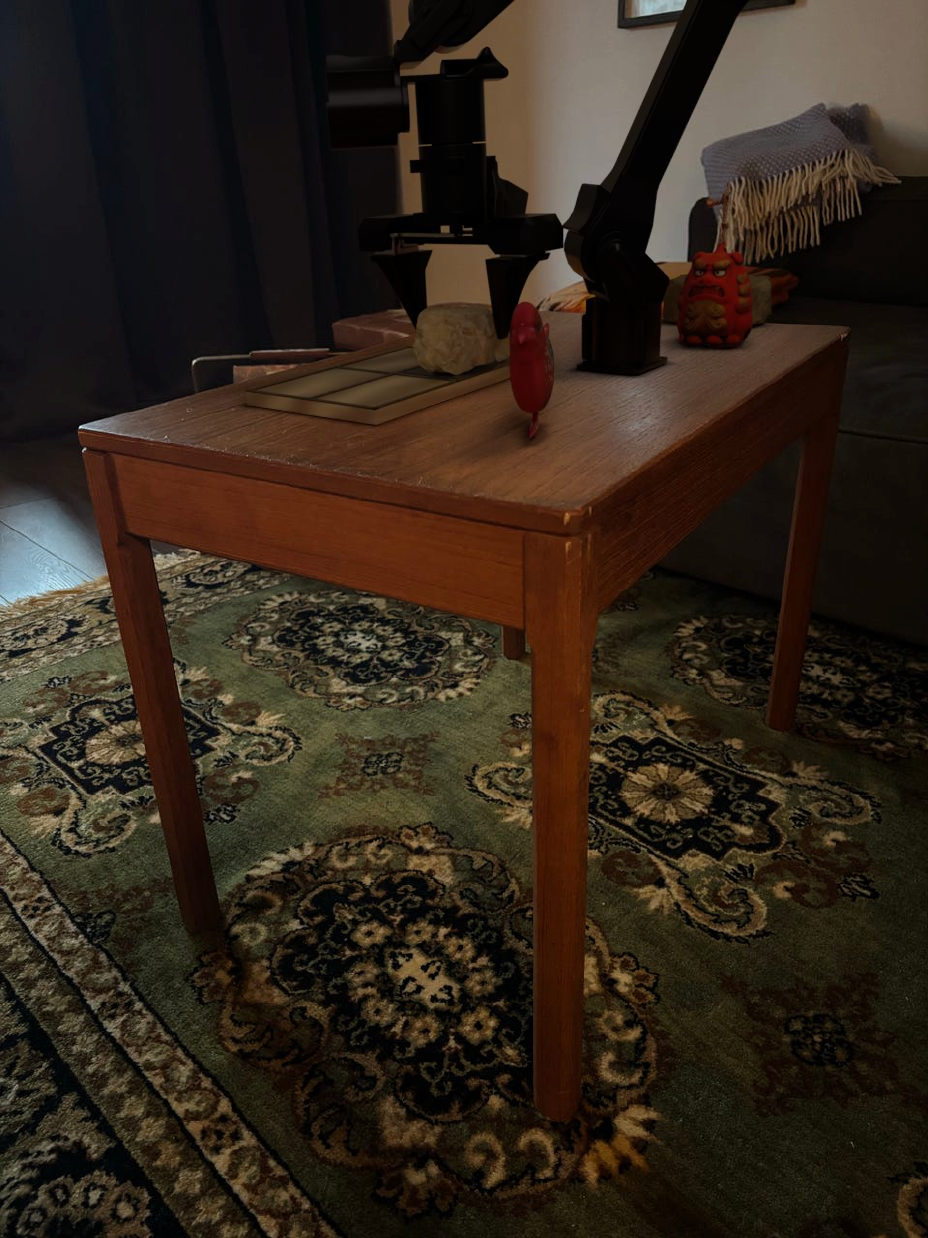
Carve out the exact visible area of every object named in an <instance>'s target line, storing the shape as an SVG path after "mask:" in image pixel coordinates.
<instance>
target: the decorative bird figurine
mask: <svg viewBox="0 0 928 1238" xmlns="http://www.w3.org/2000/svg"><path fill="white" fill-rule="evenodd" d="M509 346H510V359H509V364H510V378H509V379H510V385H511V391H512V394H513V398H514V400H515V402H516V404H517V406H518V408H519V409H520V410H521V411H523V412H524V413H527V414H532V415H531V419H530V422H529V429H528V435H529V436H528V439H529V440H531V439H532V438H534V437H536V436H537V434H538V431H539V427H540V421H539V413H541V412H543V410H544V409H545V408H546V407H547V406H548V404H549V402H550V400H551V396H552V393H553V388H554V383H555V355H554V354H555V353H554V349H553V345H552V342H551V339H550V324H549V322H546V323H545V324H544V323H543V320H542V317H541V313H540V312H539V310H538V309H537V307H536V305H534V304H533V303H532V302H529V301H521V302H519V303H518V305H517V306H516V308H515V309H514V312H513V315H512V319H511V325H510V335H509Z"/></svg>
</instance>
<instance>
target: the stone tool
mask: <svg viewBox="0 0 928 1238" xmlns="http://www.w3.org/2000/svg"><path fill="white" fill-rule="evenodd" d="M416 328H417V329H416V330H415V335H414V336H415V339H414V341H413V344H412V346H413V355H414V356H415V357H416V360H415V362H416V363H417V364H419V365H420V366H421V367H423V368H424V369H425V370H427V371H428V372H444V373H451V374H455V375H459V374H461V373H463V372H467V371H469V370H471V369H472V368H473V367H475V366H478V365H483V364H487V363H490V362H493V361H494V360H497V361H498V362H500V361H502V360H506V359H508V358H509V357H510V346H509V335H510V331H509V335H508V337H507V338H506V339H503V340H499V339H498V338H497V334H496V330H495V326H494V321H493V314H492V309H491V308H489V307H488V306H487V305H484V304H481V303H474V304H471V305H464V306H458V307H457V306H450V305H449V306H444V305H442V304H439V305H433V306H427V308H426V309H424V310H423V311H422V312H421V313H420V314H419V316H418V320H417V325H416Z"/></svg>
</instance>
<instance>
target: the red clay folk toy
mask: <svg viewBox="0 0 928 1238" xmlns="http://www.w3.org/2000/svg"><path fill="white" fill-rule="evenodd" d="M730 189H731V182H726V191H724V192H723V193H722V197H721V199H713V198H712V197H708V198H707V199H705V202H706V206H705V208H706V209H707V210H708V209H709V210H710V209H711V208H713V207H715V206H720V205H721V206H722V221H721V223H720V226H721V233H720V238H719V240H718V244H717V248H716V249H715V250H714V251H713V252H711V253H708V252H704V251H699V252H697V253H695V254H694V256H693V257H692V261H691V266H690V269H689V271H688V272H687V273H686V274H687V276H686V278H685V281H684V284H683V286H682V288H681V289H680V294H679V299H678V310H679V315H678V320H677V323H676V328H677V329H676V330H677V332H678V340H679V342H680V343H681V344H682V345H683V344H686V345H695V346H697V345H704V346H709V347H711V348H731V347H738V346H739V347H740V344H741V343H743V342H745V341H746V340H747V338H748V337H749V335H750V334H751V332H752V330H753V325H754V324H753V314H752V303H753V296H752V289H751V284H750V280H749V277H748V275H749V274H748V272H747V270H746V267H745V265H744V263H743V261H744V258H743V253H741V252H739V251H733V252H728V250H727V236H726V235H727V234H726V232H727V230H728V229H729V228H730V226H729V225H730V224H729V222H728V220H727V217H728V213H729V204H730V195H731V193H732V191H731V190H730Z"/></svg>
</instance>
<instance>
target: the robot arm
mask: <svg viewBox="0 0 928 1238" xmlns="http://www.w3.org/2000/svg"><path fill="white" fill-rule="evenodd" d="M515 1H516V0H409V2H408V5H407V16H408V19H407V20H408V24H409V26H408V28H407V29H406V31H405V33H404V34H403V35H402V37H401V39H396V40H395V42H394V44H393V46H392V48H393V54H391V55H390V54H389V55H367V56H366V55H364V56H348V55H346V54H345V55H344V54H326V56H325V57H324V68H325V80H326V91H327V99H326V100H325V106H326V116H327V117H326V118H327V126H328V127H327V128H328V137H329V138H328V139H329V147H330V151H341V150H342V151H343V150H344V151H345V150H360V149H361V150H362V149H379V148H380V149H381V148H398V142H399V135H400V134H402V133H403V134H409V133H411V132H410V131H411V110H410V96H409V86H414V94H415V95H414V96H415V112H416V128H417V145H418V146H417V147H418V149H417V150H418V159H409V174H419V178H420V179H419V180H420V197H421V198H420V199H421V211H419V212H412V213H394V214H393V213H392V214H386V215H385V214H383V215H377V216H370V217H363V218H362V220H361V222H360V224H359V226H358V228H357V231H356V232H357V234H356V235H357V245H358V251H359V252H366V253H367V252H369V253H370V252H371V253H372V252H374V254H372V255H369V261H370V262H371V263H376V265H377V266H378V267H379V269H380V270H381V273H383V275H384V276H385V278H386V280H387V281H388V283H389V284H390V286H391V287H392V289H393V291H394V292H395V295H396V296H397V298H398V300H399V302H400V303H401V306H402V308H403V309H404V311H405V313H406V315H407V317H408V318H409V320H410V322H411V324H412V326H413V328H414V330H415V331H416V329H417V328H416V325H417V320H418V316H419V314H420V313H421V312H422V311H423V310H424V309H426V308H428V294H427V293H428V292H427V274H426V271H427V267H428V264H429V262H430V259H431V257H432V254H433V251H434V250H433V249H420V247H419V246H424V245H459V246H460V245H467V246H487V247H488V248H489V249H490V251H492V253H493V254H494V255H495V256H496V255H498V256H496V257H495V256H494V257H490V258H485V259H484V262H485V269H486V270H485V271H486V276H487V277H486V278H487V283H488V291H489V299H490V306H491V313H492V314H493V321H494V326H495V330H496V334H497V338H498V339H499V340H503V339H506V338H507V337H508V335H509V331H510V325H511V319H512V315H513V312H514V309H515V308H516V306H517V305H518V304H519V303H520V299H521V296H522V293H523V291H524V288H525V285H526V283H527V281H528V278H529V277H530V274H531V273H532V271H534V269H535V268H536V266H538V264H539V263H540V262H543V261H547V260H549V259H550V256H551V251H556V250H560V249H563V252H564V256H565V259H566V262H567V264H568V266H569V267H570V268H571V270H572V271H573V272H574V273H575V274H577V275H578V276H580V277H581V278H582V280H583V283H584V286H585V288H586V292H587V294H589V295H593V296H591V297H587V298H585V313H583V314H582V315H581V325H580V326H581V331H580V332H581V334H580V335H581V337H580V340H581V342H580V343H581V345H580V348H581V350H580V351H581V352H580V356H581V357H580V358H581V359H582V360H583V361H579V362H577V363H576V365H575V366H576V369H577V370H584V371H593V372H603V373H615V374H625V375H639V374H642V373H645V372H647V371H650V370H652V369H654V368H656V367H659V366H661V365H664V364H667V363H668V360H669V359H668V356H663V355H661V338H662V337H661V336H662V315H663V302H664V296H665V293H666V290H667V287H668V285H669V282H670V277H669V276H668V275H667V273H666V272H665V271H664V270H663V269H662V268H661V267H659V265H658V264H657V263H656V262H655V261H654V260H653V259H652V257H650V256H649V255H648V253H646V252H647V249H648V245H649V242H650V239H651V235H652V232H653V228H654V223H655V215H656V208H657V207H656V206H657V200H658V194H659V193H658V192H659V188H660V185H661V184H662V183H661V182H662V180H663V179H664V176H665V174H666V172H667V170H668V168H669V165H670V163H671V162H672V159H673V157H674V155H675V153H676V150H677V149H678V146H679V144H680V142H681V139H682V138H683V135H684V133H685V131H686V130H687V126H688V124H689V122H690V120H691V118H692V116H693V113H694V111H695V109H696V107H697V105H698V102H699V100H700V98H701V96H702V95H703V92H704V90H705V87H706V86H707V84H708V81H709V79H710V77H711V75H712V72H713V70H714V68H715V66H716V64H717V62H718V60H719V57H720V55H721V53H722V51H723V49H724V46H725V44H726V43H727V40H728V37H729V36H730V33H731V31H732V29H733V27H734V25H735V22H736V20H737V19H738V16H739V15H740V14H741V12H742V11H743V9H744V8H745V7H746V5H747V4H748V3H749V2H750V1H751V0H686V1H685V4H684V6H683V8H682V10H681V12H680V15H679V17H678V20H677V22H676V24H675V27H674V28H673V31H672V33H671V35H670V38H669V40H668V42H667V45H666V46H665V49H664V51H663V53H662V56H661V58H660V60H659V62H658V65H657V67H656V70H655V72H654V73H653V76H652V78H651V81H650V83H649V85H648V87H647V89H646V92H645V94H644V97H643V99H642V101H641V103H640V105H639V107H638V110H637V113H636V115H635V117H634V119H633V121H632V124H631V126H630V129H629V131H628V133H627V135H626V137H625V140H624V142H623V144H622V146H621V149H620V151H619V153H618V155H617V157H616V160H615V162H614V165H613V166H612V167H611V169H610V171H609V173H608V174H607V175H606V177H605V178H604V179H603V180H602V181H601V182H600V183H599V184H597V183H596V184H595V183H585V182H584V183H581V185H580V187H579V190H578V193H577V197H576V200H575V204H574V207H573V210H572V212H571V213H570V215H569V217H568V219H567V220H565V221H564V223H563V224H562V223H561V220H560V219H559V217H558V215H557V213H555V212H554V213H553V212H550V213H549V212H546V213H545V212H543V213H542V212H541V213H540V212H539V213H538V212H537V213H536V212H535V213H533V212H531V213H529V212H527V208H528V207H527V206H528V199H529V196H530V193H529V192H528V191H526V190H525V189H524V188H522V187H520V186H518V185H517V184H515V183H513V182H511V181H510V180H508V179H504V178H502V177H500V175H499V163H498V161H497V158H496V157H497V156H496V155H487V154H488V153H487V126H486V125H487V122H486V95H485V93H486V92H485V91H486V90H485V82H499V81H503V80H504V79H506V78H508V76H509V75H510V74H509V73H510V71H509V69H508V68H507V66H505V65H503V63H501V62H500V61H499V60H498V58H497V57H496V56H495V55H494V53H493V52H492V50H491V47H490V46H485V47H483V48H482V49H480V51H479V53H478V55H477V56H476V57H472V58H450V59H447V58H446V59H441V61H440V64H439V72H438V73H433V74H432V73H429V74H428V73H427V74H409V75H401V71H406V70H408V71H409V70H415V69H416V68H418V66H419V65H421V64H422V63H423V62H424V61H426V60H427V58H429V57H430V56H431V55H433V53H435V54H440V55H447V54H451V53H454V52H456V51H457V52H458V51H459V50H460V49H461V48H463V47H464V46H465V45H466V44H468V43H469V42H470V41H472V39H474V38H475V37H476V36H477V35H478V34H479V33H481V32H482V31H483V30H484V29H485V28H486V27H487V26H488V25H489V24H491V22H493V21H494V20H495V19H496V18H497V17H498V16H499V15H500V14H501V13H502V12H504V11H505V10H506V9H507V8H508V7H510V5H511V4H512V3H514V2H515ZM442 227H448V229H449V231H448V232H447V231H446V232H445V231H444V232H443V231H442ZM564 230H566V231H567V232H566V234H565V238H564Z"/></svg>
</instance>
